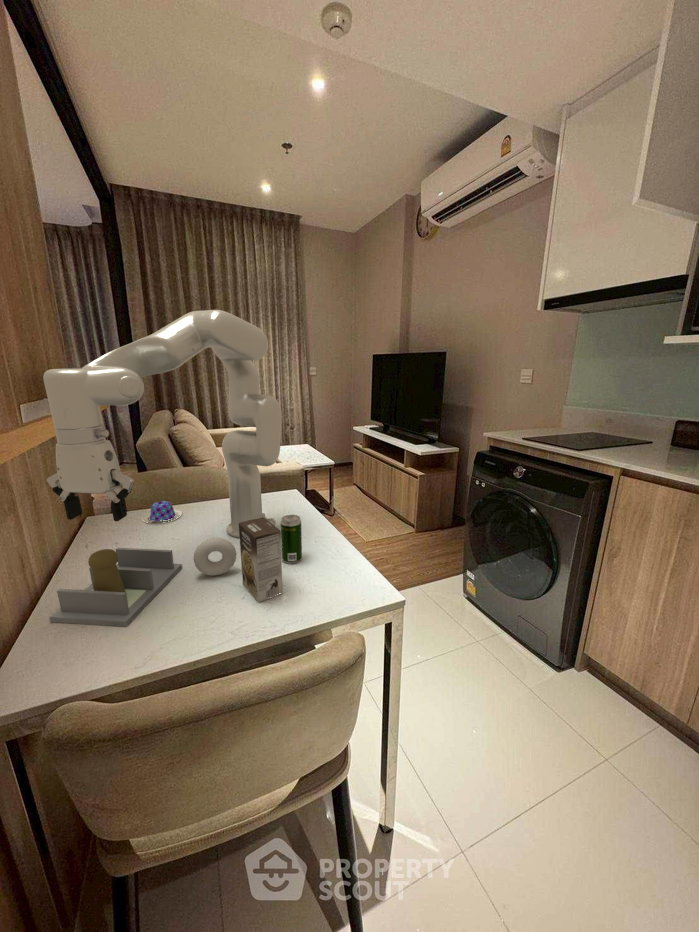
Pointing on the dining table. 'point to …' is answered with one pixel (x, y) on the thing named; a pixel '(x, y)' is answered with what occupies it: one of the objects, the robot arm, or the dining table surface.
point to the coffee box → (261, 558)
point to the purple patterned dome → (162, 511)
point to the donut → (211, 546)
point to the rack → (141, 582)
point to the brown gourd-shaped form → (105, 571)
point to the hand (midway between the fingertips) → (98, 517)
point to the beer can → (291, 539)
